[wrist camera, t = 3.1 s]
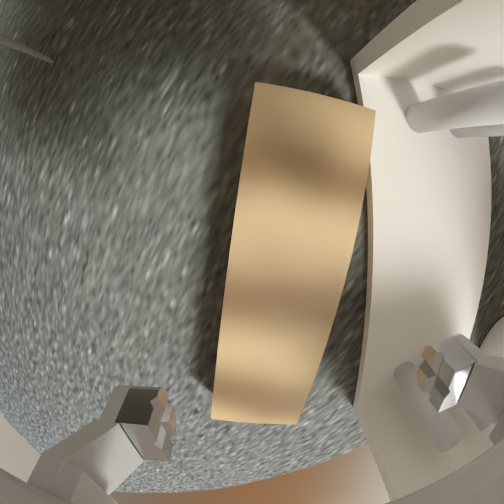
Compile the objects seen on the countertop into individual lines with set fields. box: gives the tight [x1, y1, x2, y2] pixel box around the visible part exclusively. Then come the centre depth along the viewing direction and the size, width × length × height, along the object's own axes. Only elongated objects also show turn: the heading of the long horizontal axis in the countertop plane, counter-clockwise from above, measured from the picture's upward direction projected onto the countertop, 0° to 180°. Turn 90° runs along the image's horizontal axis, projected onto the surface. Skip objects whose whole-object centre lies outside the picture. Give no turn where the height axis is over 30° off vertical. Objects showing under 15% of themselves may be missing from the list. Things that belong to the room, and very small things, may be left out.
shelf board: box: [211, 82, 376, 424], centre depth 15 cm, size 20×6×3 cm, turn 172°
